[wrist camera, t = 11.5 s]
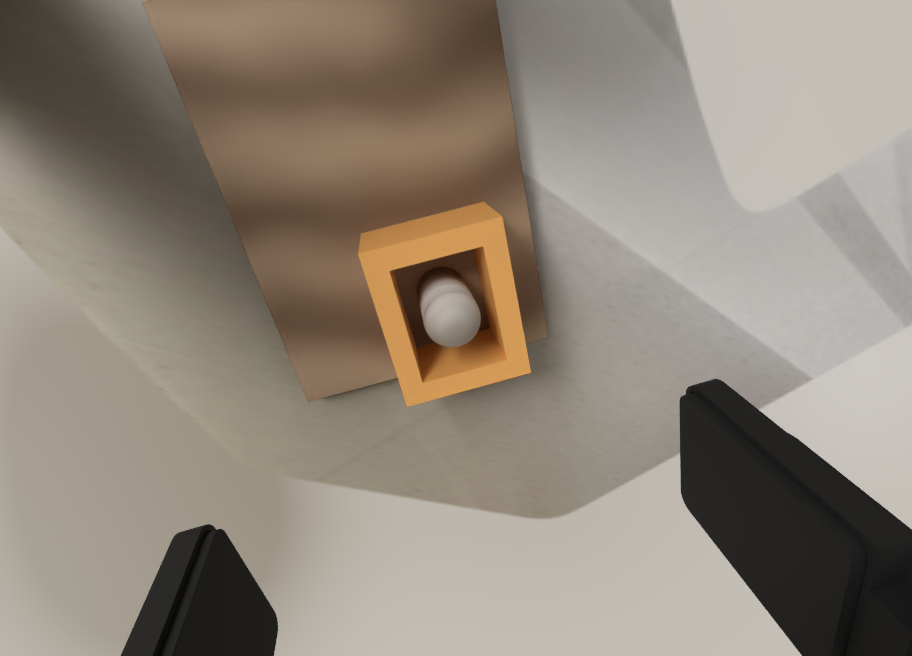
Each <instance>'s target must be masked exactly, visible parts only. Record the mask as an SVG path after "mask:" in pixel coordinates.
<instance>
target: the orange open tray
mask: <svg viewBox="0 0 912 656" xmlns="http://www.w3.org/2000/svg"><path fill="white" fill-rule="evenodd" d="M471 249H473V252H474V257H475V262H476V266H477V271H478V276H479V280H480V285H481V289H482V294H483V299H484V303H485V308H486V312H487V317H488V322H489V326H490V328H488V329H484V330H481V331H478V332H477V334H476V335H475V336H474V338H473V339H472V340H471V341H469V342H468V343H466V344H464V345H462V346H459V347H445V346H442V345H439V344H438V343H433V344H429V345H425V346H422V347H418V348H417V347H416V344H415V340H414V337H413V334H412V330H411V327H410V323H409V320H408V317H407V313H406V310H405V306H404V303H403V300H402V296H401V293H400V289H399V286H398V283H397V279H396V276H395V272H394V270H395V269H399V268H402V267H406V266H410V265H414V264H418V263H421V262H425V261H429V260H433V259H437V258H440V257H444V256H448V255H452V254H456V253H459V252H463V251H467V250H471ZM358 256H359V259H360V262H361V265H362V268H363V271H364V274H365V277H366V281H367V284H368V287H369V290H370V293H371V296H372V299H373V302H374V305H375V309H376V312H377V315H378V318H379V321H380V324H381V327H382V330H383V333H384V337H385V340H386V343H387V346H388V349H389V352H390V355H391V358H392V361H393V365H394V368H395V371H396V374H397V377H398V380H399V383H400V386H401V389H402V393H403V396H404V399H405V402H406V405H407V407H409V406H412V405H416V404H420V403H423V402H427V401H431V400H434V399H438V398H441V397H445V396H449V395H452V394H456V393H460V392H463V391H467V390H470V389H474V388H478V387H481V386H485V385H488V384H492V383H496V382H499V381H503V380H507V379H510V378H514V377H517V376H521V375H525V374H528V373H531V369H530V364H529V358H528V353H527V348H526V342H525V337H524V331H523V326H522V321H521V315H520V310H519V304H518V299H517V294H516V288H515V283H514V277H513V272H512V267H511V261H510V256H509V250H508V245H507V240H506V234H505V229H504V223H503V218H502V216H501V215H500V214H499V213H497V212H496V211H495V210H494V209H492V208H491V207H490V206H489V205H487V204H486V203H485V202H481V203H477V204H473V205H469V206H465V207H461V208H458V209H454V210H450V211H446V212H442V213H438V214H434V215H431V216H427V217H423V218H419V219H415V220H411V221H408V222H404V223H400V224H396V225H392V226H388V227H384V228H381V229H377V230H373V231H369V232H365V233H361V236H360V244H359V251H358Z"/></svg>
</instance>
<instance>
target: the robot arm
mask: <svg viewBox="0 0 912 656" xmlns="http://www.w3.org/2000/svg"><path fill="white" fill-rule="evenodd" d="M680 457H681V458H680V460H681V494H682V498H683V500H684V503H685V504H686V506H687V508H688V509H689V511H690V512H691V513H692V515H693V516H694V517H695V519H696V520H697V521H698V522H699V524H700V525H701V526H702V528H703V529H704V530H705V531H706V533H707V534H708V535H709V537H710V538H711V539H712V540H713V542H714V543H715V544H716V545H717V547H718V548H719V549H720V551H721V552H722V553H723V555H724V556H725V557H726V558H727V560H728V561H729V562H730V564H731V565H732V566H733V567H734V569H735V570H736V571H737V573H738V574H739V575H740V576H741V578H742V579H743V580H744V582H745V583H746V584H747V585H748V587H749V588H750V589H751V590H752V592H753V593H754V594H755V596H756V597H757V598H758V600H759V601H760V602H761V603H762V605H763V606H764V607H765V609H766V610H767V611H768V612H769V614H770V615H771V616H772V618H773V619H774V620H775V621H776V623H777V624H778V625H779V626H780V628H781V629H782V630H783V632H784V633H785V634H786V636H787V637H788V638H789V639H790V641H791V642H792V643H793V644H794V646H795V647H796V648H797V650H798V651H799V652H800V653H801V655H802V656H912V530H911V529H910V528H909V527H908V526H906V525H905V524H904V523H902V522H901V521H900V520H899V519H897V518H896V517H895V516H894V515H893V514H891V513H890V512H889V511H888V510H886V509H885V508H884V507H882V506H881V505H880V504H879V503H877V502H876V501H875V500H874V499H872V498H871V497H869V495H867V494H866V493H865V492H864V491H862V490H861V489H860V488H859V487H857V486H856V485H855V484H854V483H852V482H851V481H850V480H848V479H847V478H846V477H845V476H843V475H842V474H841V473H840V472H838V471H837V470H836V469H835V468H833V467H832V466H831V465H830V464H828V463H827V462H826V461H824V460H823V459H822V458H821V457H820V456H818V455H817V454H816V453H814V452H813V451H812V450H811V449H809V448H808V447H807V446H806V445H804V444H803V443H802V442H801V441H799V440H798V439H797V438H795V437H794V436H792V435H791V434H789V433H787V432H785V431H784V430H783V429H782V428H780V427H779V426H778V425H777V424H775V423H774V422H773V421H772V420H770V419H769V418H768V417H767V416H765V415H764V414H763V413H762V412H760V411H759V410H758V409H757V408H755V407H754V406H753V405H752V404H750V403H749V402H748V401H747V400H745V399H744V398H743V397H742V396H740V395H739V394H738V393H737V392H735V391H734V390H733V389H732V388H730V387H729V386H728V385H727V384H725V383H724V382H723V381H721V380H719V379H713V380H710V381H706V382H703V383H699V384H696V385H692V386H690V387H688V388H687V390H686V395H684V396H682V397H681V398H680ZM277 632H278V622H277V617H276V614H275V612H274V610H273V608H272V607H271V605H270V603H269V602H268V600H267V599H266V597H265V595H264V594H263V592H262V591H261V589H260V587H259V586H258V584H257V582H256V581H255V579H254V578H253V576H252V574H251V573H250V572H249V570H248V568H247V566H246V565H245V563H244V562H243V560H242V558H241V557H240V555H239V554H238V552H237V551H236V549H235V547H234V546H233V544H232V542H231V541H230V539H229V537H228V536H227V535H226V533H225V531H224V530H222V529H218V530H216V529H215V528H214V526H212V525H210V524H209V525H204V526H200V527H197V528H193V529H190V530H186V531H183V532H179V533H177V534H176V535H175V536H174V538H173V539H172V541H171V544H170V546H169V548H168V550H167V553H166V555H165V557H164V559H163V562H162V564H161V566H160V568H159V571H158V573H157V575H156V577H155V580H154V582H153V584H152V586H151V589H150V591H149V593H148V595H147V598H146V600H145V602H144V604H143V607H142V609H141V611H140V613H139V616H138V618H137V620H136V623H135V625H134V627H133V629H132V631H131V634H130V636H129V638H128V641H127V643H126V645H125V648H124V649H123V652H122V654H121V656H274V650H275V645H276V638H277Z"/></svg>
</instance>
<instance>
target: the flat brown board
mask: <svg viewBox="0 0 912 656" xmlns="http://www.w3.org/2000/svg"><path fill="white" fill-rule="evenodd" d="M142 4H143V6H144V9H145V11H146V13H147V16H148V18H149V21H150V23H151V25H152V28H153V30H154V33H155V35H156V37H157V40H158V42H159V45H160V47H161V49H162V52H163V54H164V57H165V59H166V62H167V64H168V66H169V69H170V71H171V74H172V76H173V78H174V81H175V83H176V86H177V88H178V90H179V93H180V95H181V98H182V100H183V102H184V105H185V107H186V110H187V112H188V114H189V117H190V119H191V122H192V124H193V126H194V129H195V131H196V134H197V136H198V138H199V141H200V143H201V146H202V148H203V151H204V153H205V155H206V158H207V160H208V163H209V165H210V167H211V170H212V172H213V175H214V177H215V179H216V182H217V184H218V187H219V189H220V191H221V194H222V196H223V199H224V201H225V203H226V206H227V208H228V211H229V213H230V215H231V218H232V220H233V223H234V225H235V228H236V230H237V232H238V235H239V237H240V240H241V242H242V244H243V247H244V249H245V252H246V254H247V256H248V259H249V261H250V264H251V266H252V268H253V271H254V273H255V276H256V278H257V280H258V283H259V285H260V288H261V290H262V292H263V295H264V297H265V300H266V302H267V304H268V307H269V309H270V312H271V314H272V317H273V319H274V321H275V324H276V326H277V329H278V331H279V333H280V336H281V338H282V341H283V343H284V345H285V348H286V350H287V353H288V355H289V357H290V360H291V362H292V365H293V367H294V369H295V372H296V374H297V377H298V379H299V381H300V384H301V386H302V389H303V391H304V394H305V396H306V398H307V401H308V402H309V401H313V400H317V399H321V398H324V397H328V396H332V395H335V394H339V393H343V392H347V391H350V390H354V389H358V388H362V387H365V386H369V385H373V384H376V383H380V382H384V381H388V380H391V379H395V378H398V377H397V374H396V371H395V368H394V365H393V361H392V358H391V355H390V352H389V349H388V346H387V343H386V340H385V337H384V333H383V330H382V327H381V324H380V321H379V318H378V315H377V312H376V309H375V305H374V302H373V299H372V296H371V293H370V290H369V287H368V284H367V281H366V277H365V274H364V271H363V268H362V265H361V262H360V259H359V256H358V251H359V244H360V236H361V233H365V232H369V231H373V230H377V229H381V228H384V227H388V226H392V225H396V224H400V223H404V222H408V221H411V220H415V219H419V218H423V217H427V216H431V215H434V214H438V213H442V212H446V211H450V210H454V209H458V208H461V207H465V206H469V205H473V204H477V203H481V202H485V203H486V204H487V205H489V206H490V207H491V208H492V209H494V210H495V211H496V212H497V213H499V214H500V215H501V216H502V218H503V223H504V229H505V234H506V240H507V245H508V250H509V256H510V261H511V267H512V272H513V277H514V283H515V288H516V294H517V299H518V304H519V310H520V315H521V321H522V326H523V331H524V337H525V342H526V343H529V342H533V341H537V340H541V339H544V338H548V334H547V328H546V321H545V315H544V309H543V302H542V296H541V289H540V283H539V277H538V270H537V264H536V257H535V251H534V245H533V238H532V232H531V225H530V219H529V213H528V206H527V200H526V193H525V187H524V181H523V174H522V168H521V161H520V155H519V149H518V142H517V136H516V129H515V123H514V117H513V110H512V104H511V97H510V91H509V85H508V78H507V72H506V65H505V59H504V53H503V46H502V40H501V33H500V27H499V21H498V14H497V8H496V1H495V0H147V1H143V2H142ZM394 272H395V276H396V279H397V283H398V286H399V289H400V293H401V296H402V300H403V303H404V306H405V310H406V313H407V317H408V320H409V323H410V327H411V330H412V334H413V337H414V340H415V344H416V347H417V348H418V347H422V346H425V345H429V344H433V343H438V344H439V345H442V346H445V347H459V346H462V345H464V344H466V343H468V342H469V341H471V340H472V339H473V338H474V336H475V335H476V334H477V332H478V331H481V330H484V329H488V328H490V326H489V322H488V317H487V312H486V308H485V303H484V299H483V294H482V289H481V285H480V280H479V276H478V271H477V266H476V262H475V257H474V252H473V249H471V250H467V251H463V252H459V253H456V254H452V255H448V256H444V257H440V258H437V259H433V260H429V261H425V262H421V263H418V264H414V265H410V266H406V267H402V268H399V269H395V270H394Z"/></svg>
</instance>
